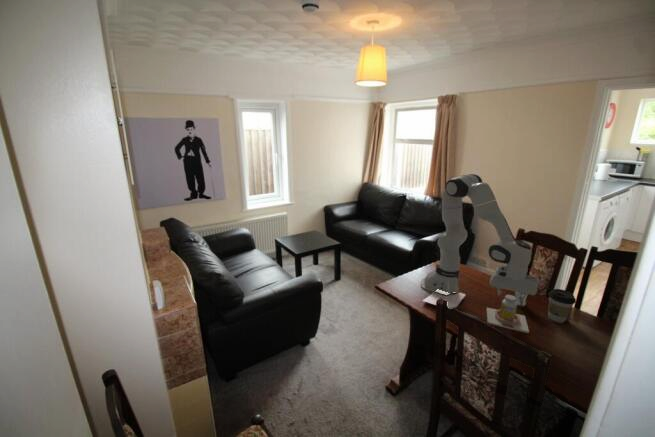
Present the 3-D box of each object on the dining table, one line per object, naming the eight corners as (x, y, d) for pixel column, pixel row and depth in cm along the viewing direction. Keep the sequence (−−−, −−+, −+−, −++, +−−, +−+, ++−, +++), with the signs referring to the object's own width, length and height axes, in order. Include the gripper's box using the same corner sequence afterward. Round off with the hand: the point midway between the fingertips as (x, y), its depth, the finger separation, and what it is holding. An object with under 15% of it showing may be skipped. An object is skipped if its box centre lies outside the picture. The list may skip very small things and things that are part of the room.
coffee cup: (538, 314, 160) (544, 290, 156) (552, 310, 164) (558, 286, 160) (560, 327, 150) (567, 301, 146) (575, 322, 154) (582, 297, 150)
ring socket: (487, 323, 154) (488, 318, 153) (486, 309, 166) (487, 304, 165) (528, 333, 146) (529, 328, 145) (524, 317, 158) (525, 312, 157)
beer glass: (528, 307, 167) (533, 283, 162) (514, 306, 168) (519, 282, 164) (523, 300, 173) (528, 277, 169) (510, 299, 175) (514, 276, 170)
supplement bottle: (500, 313, 160) (504, 292, 156) (514, 317, 156) (519, 296, 152) (498, 319, 155) (502, 297, 151) (512, 324, 151) (517, 302, 147)
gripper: (539, 275, 146) (532, 299, 151) (492, 266, 155) (487, 289, 159) (542, 280, 141) (535, 305, 145) (493, 271, 149) (488, 295, 154)
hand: (509, 297), depth 152 cm, fingers open, 8 cm apart
